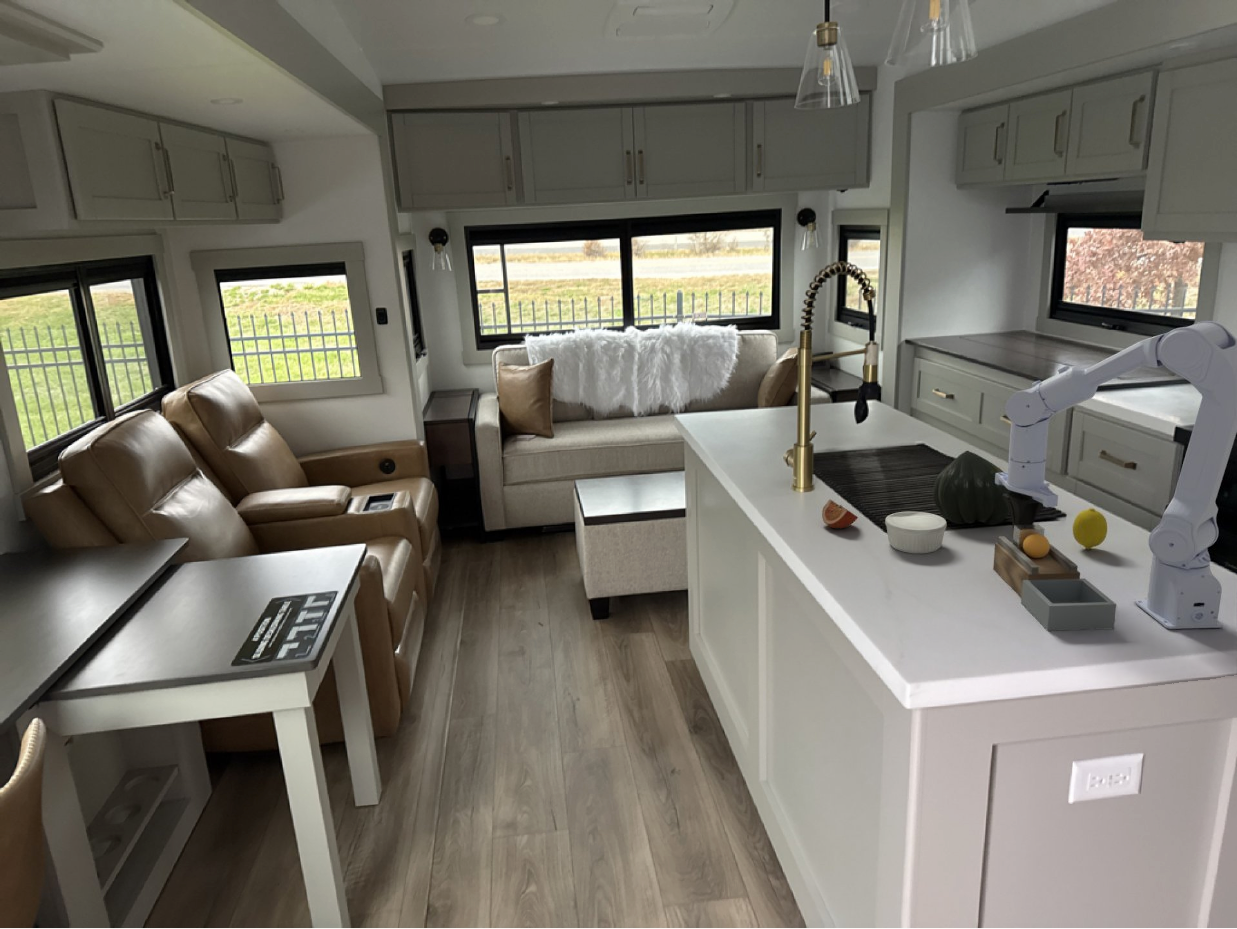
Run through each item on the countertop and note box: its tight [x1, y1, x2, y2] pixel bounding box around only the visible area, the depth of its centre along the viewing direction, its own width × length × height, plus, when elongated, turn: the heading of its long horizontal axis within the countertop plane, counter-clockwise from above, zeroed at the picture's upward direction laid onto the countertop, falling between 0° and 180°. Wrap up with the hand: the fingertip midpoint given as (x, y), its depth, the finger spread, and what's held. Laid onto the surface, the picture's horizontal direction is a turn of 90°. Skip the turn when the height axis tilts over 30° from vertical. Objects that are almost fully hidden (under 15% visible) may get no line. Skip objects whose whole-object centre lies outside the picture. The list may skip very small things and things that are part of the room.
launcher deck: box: [992, 535, 1081, 598], centre depth 139 cm, size 14×8×6 cm, turn 177°
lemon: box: [1072, 507, 1108, 550], centre depth 152 cm, size 6×6×8 cm
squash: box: [932, 450, 1011, 526], centre depth 170 cm, size 14×15×15 cm
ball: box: [1023, 534, 1051, 558], centre depth 138 cm, size 4×4×4 cm
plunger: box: [1012, 523, 1045, 552], centre depth 141 cm, size 2×4×4 cm, turn 87°
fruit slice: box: [821, 499, 859, 529], centre depth 172 cm, size 8×7×5 cm
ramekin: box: [884, 511, 947, 555], centre depth 159 cm, size 11×11×5 cm
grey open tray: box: [1020, 577, 1117, 631], centre depth 128 cm, size 10×10×4 cm
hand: (1021, 534), depth 144 cm, fingers closed
